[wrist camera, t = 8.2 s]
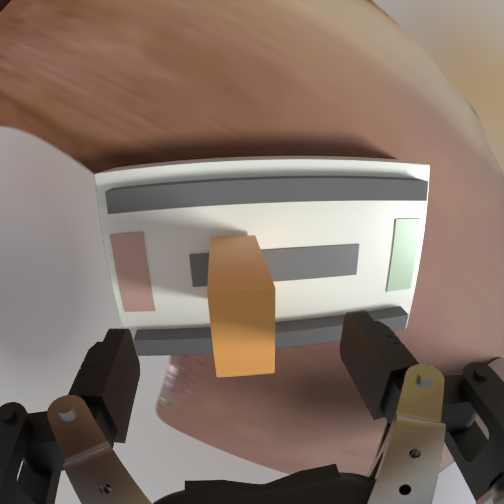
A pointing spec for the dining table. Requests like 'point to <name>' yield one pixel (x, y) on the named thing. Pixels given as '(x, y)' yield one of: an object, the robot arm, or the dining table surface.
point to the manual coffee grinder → (3, 4)
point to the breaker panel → (263, 242)
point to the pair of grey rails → (250, 193)
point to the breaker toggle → (241, 307)
